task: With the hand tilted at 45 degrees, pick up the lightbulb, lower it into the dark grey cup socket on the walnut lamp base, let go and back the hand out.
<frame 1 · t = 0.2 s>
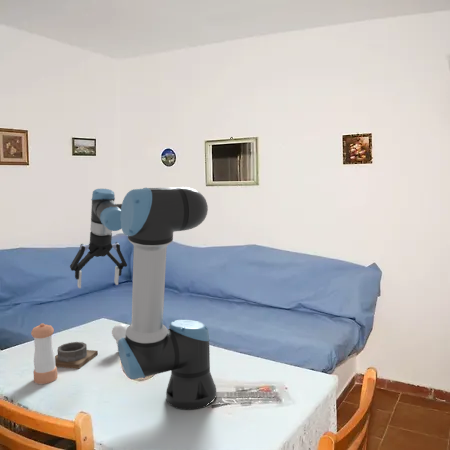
hand: (98, 284, 169), 27 cm above the table, tool tilted 15°, fingers open, 13 cm apart
lightbulb: (121, 352, 175), on the table
salt shaker: (45, 379, 152), on the table
lamp socket: (72, 360, 167), on the table
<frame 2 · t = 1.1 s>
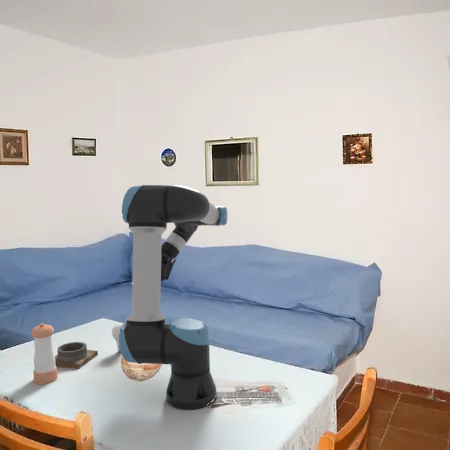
hand: (141, 289, 177), 23 cm above the table, tool tilted 45°, fingers open, 13 cm apart
nothing on the table moved.
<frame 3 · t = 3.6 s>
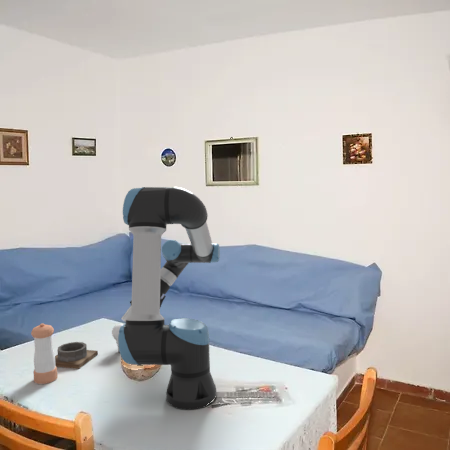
hand: (130, 325, 177), 9 cm above the table, tool tilted 45°, fingers open, 13 cm apart
nothing on the table moved.
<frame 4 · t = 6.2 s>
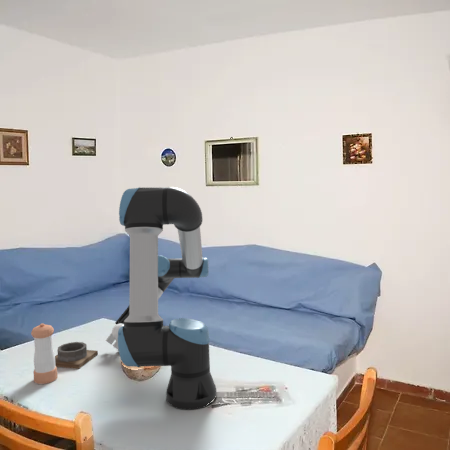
hand: (112, 345, 172), 3 cm above the table, tool tilted 45°, fingers closed on lightbulb, 6 cm apart
lightbulb: (121, 352, 175), on the table, touching gripper
everything else where it was.
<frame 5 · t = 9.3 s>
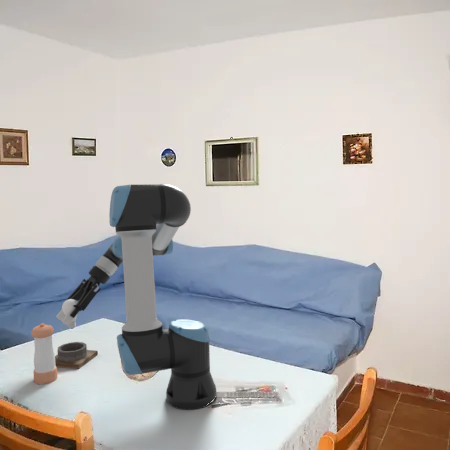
hand: (61, 321, 164), 15 cm above the table, tool tilted 45°, fingers closed on lightbulb, 6 cm apart
lightbulb: (72, 329, 166), point 12 cm above the table, touching gripper
everything else where it was.
when the fingers open (6 cm above the table, at t = 12.2 s): lightbulb drops 1 cm, resting on lamp socket.
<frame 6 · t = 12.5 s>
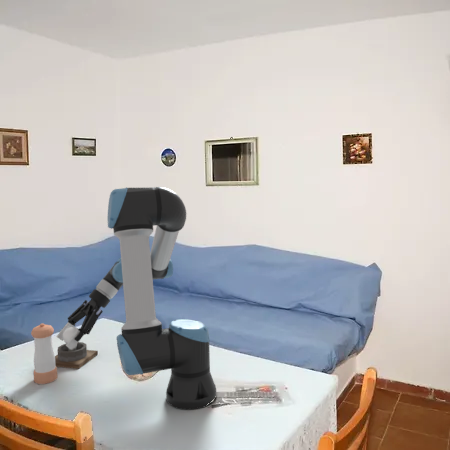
hand: (63, 343, 165), 7 cm above the table, tool tilted 45°, fingers open, 11 cm apart
lightbulb: (72, 356, 167), point 1 cm above the table, touching lamp socket
everything else where it was.
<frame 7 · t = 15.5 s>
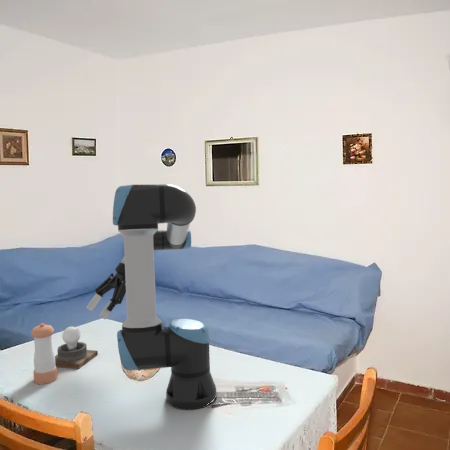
hand: (95, 313, 171), 16 cm above the table, tool tilted 40°, fingers open, 13 cm apart
nothing on the table moved.
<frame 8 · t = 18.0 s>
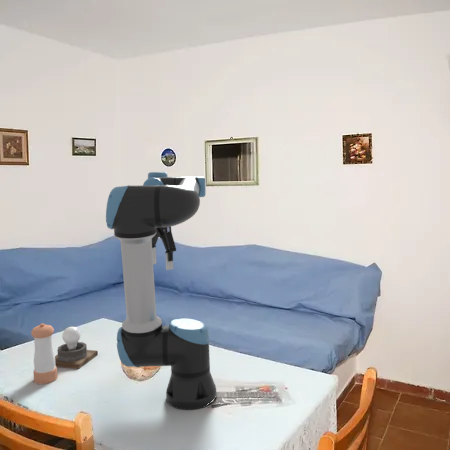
hand: (161, 266, 176), 32 cm above the table, tool pointing down, fingers open, 13 cm apart
nothing on the table moved.
at the end: lightbulb 0.2 cm off-centre on the lamp socket, point 1.3 cm above the lamp socket's base; lightbulb tilted 0°; the gripper is holding nothing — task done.
